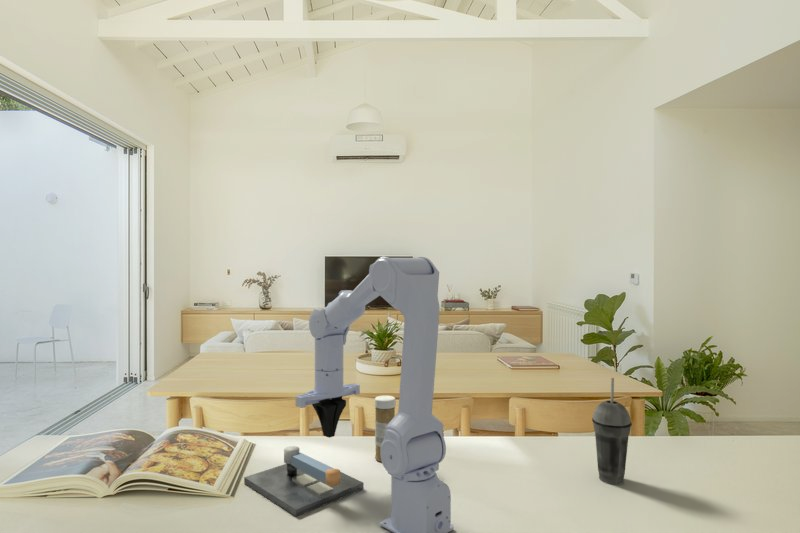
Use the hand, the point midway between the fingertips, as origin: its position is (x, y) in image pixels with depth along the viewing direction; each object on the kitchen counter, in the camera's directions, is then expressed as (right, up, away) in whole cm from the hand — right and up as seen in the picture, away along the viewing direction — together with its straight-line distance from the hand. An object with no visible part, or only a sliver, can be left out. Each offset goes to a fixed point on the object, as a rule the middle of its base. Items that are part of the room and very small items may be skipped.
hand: (328, 435), depth 104 cm
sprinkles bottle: (+11, -8, +9) cm, 16 cm away
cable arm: (-2, -4, -7) cm, 8 cm away
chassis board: (-4, -8, -5) cm, 10 cm away
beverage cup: (+56, -8, -1) cm, 57 cm away
